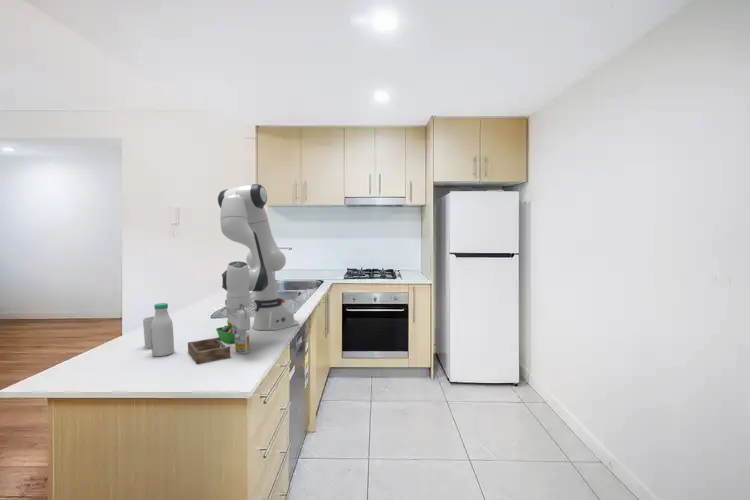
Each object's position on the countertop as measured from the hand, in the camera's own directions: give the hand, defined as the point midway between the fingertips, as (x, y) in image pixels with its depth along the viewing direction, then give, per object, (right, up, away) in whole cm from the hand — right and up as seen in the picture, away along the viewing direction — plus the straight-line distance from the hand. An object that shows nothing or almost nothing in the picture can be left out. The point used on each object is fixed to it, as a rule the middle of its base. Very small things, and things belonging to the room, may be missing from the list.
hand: (238, 337), depth 155 cm
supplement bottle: (+1, -6, +1) cm, 6 cm away
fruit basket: (-10, -5, +18) cm, 21 cm away
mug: (-39, -6, +11) cm, 41 cm away
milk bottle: (-30, -7, 0) cm, 31 cm away
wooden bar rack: (-11, -6, -2) cm, 13 cm away
